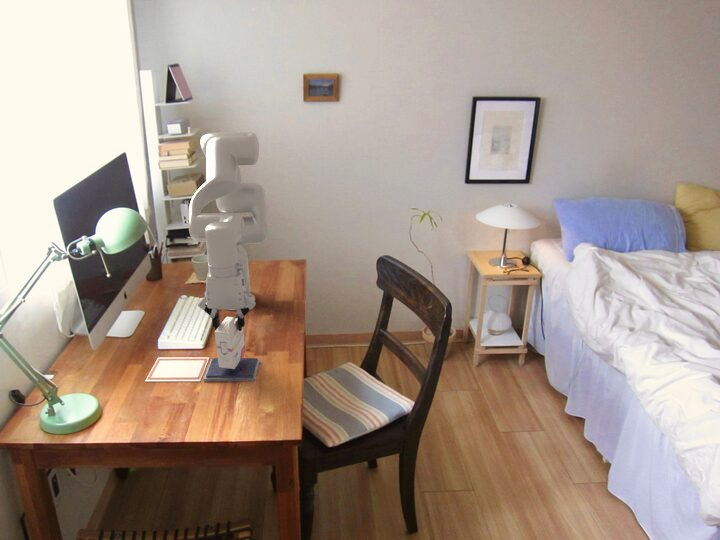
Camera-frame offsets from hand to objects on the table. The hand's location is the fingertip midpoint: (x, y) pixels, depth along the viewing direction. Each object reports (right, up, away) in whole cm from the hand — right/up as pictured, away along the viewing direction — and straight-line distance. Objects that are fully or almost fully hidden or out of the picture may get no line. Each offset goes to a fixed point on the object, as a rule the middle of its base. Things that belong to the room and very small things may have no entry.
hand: (229, 327), depth 155 cm
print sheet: (-16, -12, +5) cm, 21 cm away
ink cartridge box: (0, -10, +5) cm, 11 cm away
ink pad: (0, -13, +5) cm, 14 cm away
